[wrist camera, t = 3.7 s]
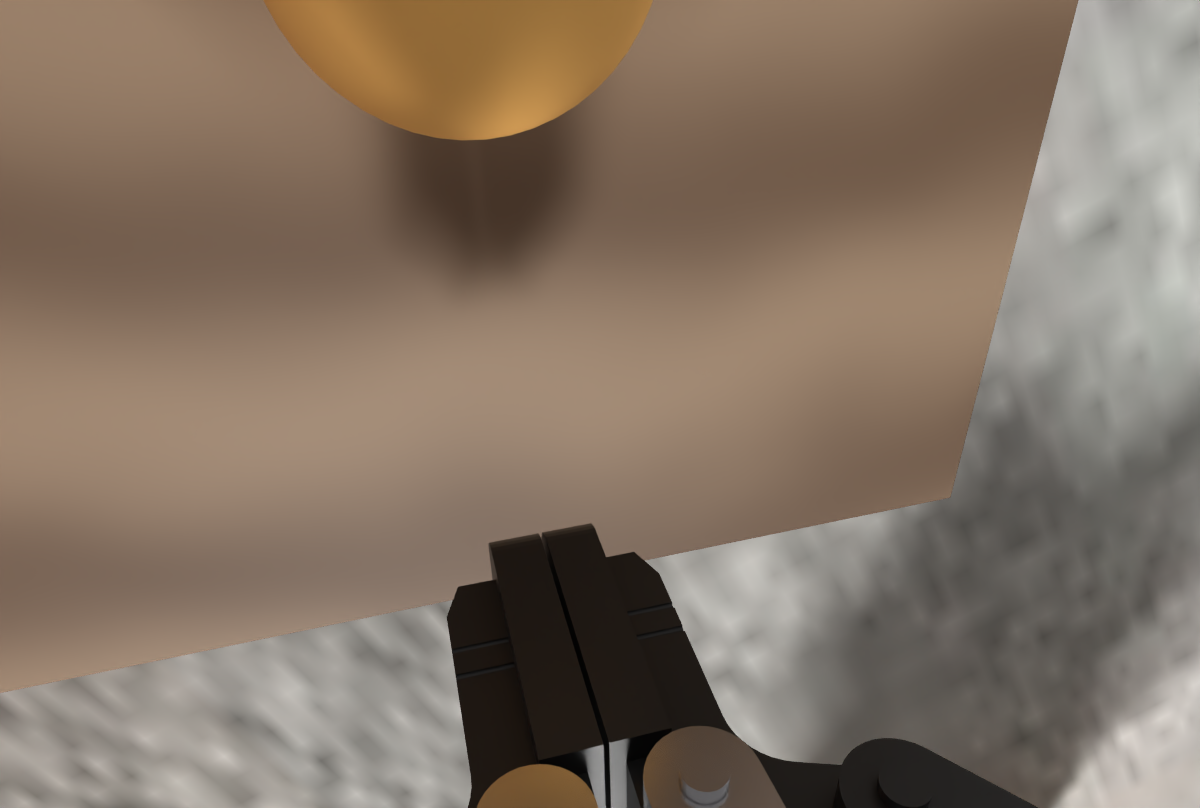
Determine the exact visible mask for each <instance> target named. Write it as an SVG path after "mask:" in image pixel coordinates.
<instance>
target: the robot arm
mask: <svg viewBox="0 0 1200 808" xmlns="http://www.w3.org/2000/svg"><path fill="white" fill-rule="evenodd" d="M489 555H490V563H491V571H492V580H490V581H484V582H479V583H474V584H469V585H464V586H459V587H458V588H457V591H456V593H455V596H454V599H453V602H452V605H451V607H450V610H449V613H448V616H447V621H448V628H449V634H450V641H451V648H452V654H453V661H454V667H455V674H456V680H457V687H458V694H459V700H460V707H461V713H462V720H463V727H464V733H465V740H466V746H467V753H468V759H469V766H470V773H471V783H472V789H471V798H470V802H469V805H468V808H1038V807H1036V806H1034V805H1032V804H1030V803H1028V802H1026V801H1024V800H1022V799H1021V798H1019V797H1017V796H1015V795H1013V794H1011V793H1009V792H1007V791H1005V790H1004V789H1002V788H1000V787H998V786H996V785H994V784H992V783H990V782H988V781H987V780H985V779H983V778H981V777H979V776H977V775H975V774H973V773H971V772H970V771H968V770H966V769H964V768H962V767H960V766H958V765H956V764H954V763H953V762H951V761H949V760H947V759H945V758H943V757H941V756H939V755H937V754H935V753H934V752H932V751H930V750H928V749H926V748H924V747H922V746H919V745H917V744H915V743H912V742H908V741H905V740H900V739H891V738H882V739H875V740H871V741H868V742H865V743H863V744H861V745H859V746H857V747H856V748H855V749H853V750H852V751H851V752H850V753H849V754H848V756H847V757H846V758H845V760H844V762H843V764H842V765H831V764H817V763H803V762H792V761H784V760H780V759H776V758H773V757H770V756H767V755H765V754H762V753H760V752H758V751H757V750H755V749H753V748H751V747H750V746H748V745H747V744H746V743H745V742H743V741H742V740H741V739H740V738H739V737H738V736H737V735H736V734H735V733H734V732H733V731H732V730H731V728H730V727H729V726H728V724H727V723H726V721H725V719H724V717H723V715H722V713H721V711H720V709H719V706H718V704H717V702H716V700H715V698H714V695H713V693H712V691H711V689H710V686H709V684H708V682H707V680H706V677H705V675H704V673H703V671H702V668H701V666H700V664H699V662H698V659H697V657H696V655H695V653H694V651H693V648H692V646H691V644H690V642H689V639H688V637H687V635H686V633H685V631H683V628H682V624H681V621H680V619H679V617H678V615H677V613H676V610H675V608H673V606H672V601H671V599H670V597H669V595H668V592H667V590H666V588H665V586H664V583H663V581H662V579H661V577H660V574H659V573H658V572H657V571H655V570H654V569H653V568H652V567H651V566H650V565H649V564H648V563H646V562H645V561H644V560H643V559H642V558H641V557H640V556H638V555H637V554H636V553H635V552H630V553H625V554H620V555H615V556H610V557H606V555H605V553H604V550H603V548H602V545H601V542H600V540H599V537H598V535H597V532H596V530H595V527H594V526H593V524H592V523H589V524H584V525H578V526H573V527H568V528H562V529H557V530H552V531H547V532H542V536H541V537H540V535H539V534H538V533H537V534H532V535H527V536H521V537H516V538H511V539H505V540H500V541H495V542H490V543H489Z"/></svg>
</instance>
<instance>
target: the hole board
mask: <svg viewBox="0 0 1200 808" xmlns="http://www.w3.org/2000/svg"><path fill="white" fill-rule="evenodd" d="M1077 4H1078V0H653V2H652V5H651V7H650V10H649V12H648V14H647V17H646V19H645V21H644V24H643V26H642V28H641V30H640V32H639V34H638V35H637V37H636V39H635V40H634V42H633V44H632V46H631V47H630V49H629V51H628V52H627V54H626V55H625V56H624V58H623V59H622V60H621V62H620V63H619V64H618V66H617V67H616V68H615V70H614V71H613V72H612V73H611V74H610V75H609V77H608V78H607V79H606V80H605V81H604V82H603V83H602V84H601V85H600V86H599V87H598V88H597V89H596V90H595V91H594V92H592V93H591V94H590V95H589V96H588V97H586V98H585V99H584V100H583V101H581V102H580V103H579V104H578V105H576V106H575V107H573V108H572V109H570V110H568V111H567V112H565V113H564V114H562V115H560V116H559V117H557V118H555V119H553V120H551V121H548V122H546V123H544V124H542V125H540V126H538V127H535V128H533V129H530V130H527V131H523V132H520V133H517V134H514V135H510V136H505V137H499V138H493V139H487V140H452V139H442V138H435V137H430V136H426V135H422V134H417V133H413V132H410V131H407V130H405V129H402V128H399V127H396V126H394V125H391V124H388V123H386V122H384V121H382V120H380V119H378V118H376V117H375V116H373V115H371V114H369V113H367V112H365V111H363V110H362V109H360V108H359V107H357V106H356V105H354V104H353V103H351V102H350V101H348V100H347V99H346V98H344V97H343V96H341V95H340V94H338V93H337V92H336V91H335V90H333V89H332V88H331V87H330V86H329V85H328V84H327V83H325V82H324V81H323V80H322V79H321V78H320V77H319V76H317V75H316V74H315V73H314V71H313V70H312V69H311V68H310V67H309V66H308V65H307V64H306V63H305V62H304V60H303V59H302V58H301V57H300V56H299V55H298V54H297V53H296V51H295V50H294V49H293V47H292V46H291V44H290V43H289V42H288V40H287V39H286V38H285V36H284V35H283V33H282V32H281V31H280V29H279V28H278V26H277V24H276V22H275V21H274V19H273V17H272V15H271V13H270V12H269V10H268V8H267V6H266V4H265V3H264V1H263V0H0V693H2V692H7V691H12V690H17V689H22V688H27V687H31V686H36V685H41V684H46V683H51V682H56V681H61V680H65V679H70V678H75V677H80V676H85V675H90V674H95V673H99V672H104V671H109V670H114V669H119V668H124V667H129V666H134V665H138V664H143V663H148V662H153V661H158V660H163V659H168V658H172V657H177V656H182V655H187V654H192V653H197V652H202V651H206V650H211V649H216V648H221V647H226V646H231V645H236V644H240V643H245V642H250V641H255V640H260V639H265V638H270V637H275V636H279V635H284V634H289V633H294V632H299V631H304V630H309V629H313V628H318V627H323V626H328V625H333V624H338V623H343V622H347V621H352V620H357V619H362V618H367V617H372V616H377V615H381V614H386V613H391V612H396V611H401V610H406V609H411V608H415V607H420V606H425V605H430V604H435V603H440V602H445V601H450V600H453V599H454V596H455V593H456V591H457V588H458V587H459V586H464V585H469V584H474V583H479V582H484V581H490V580H492V571H491V563H490V555H489V543H490V542H495V541H500V540H505V539H511V538H516V537H521V536H527V535H532V534H537V533H538V534H539V535H540V537H541V536H542V532H547V531H552V530H557V529H562V528H568V527H573V526H578V525H584V524H589V523H592V524H593V526H594V527H595V530H596V532H597V535H598V537H599V540H600V542H601V545H602V548H603V550H604V553H605V555H606V557H610V556H615V555H620V554H625V553H630V552H635V553H636V554H637V555H638V556H640V557H641V558H642V559H643V560H649V559H654V558H659V557H663V556H668V555H673V554H678V553H683V552H688V551H693V550H697V549H702V548H707V547H712V546H717V545H722V544H727V543H731V542H736V541H741V540H746V539H751V538H756V537H761V536H766V535H770V534H775V533H780V532H785V531H790V530H795V529H800V528H804V527H809V526H814V525H819V524H824V523H829V522H834V521H838V520H843V519H848V518H853V517H858V516H863V515H868V514H872V513H877V512H882V511H887V510H892V509H897V508H902V507H907V506H911V505H916V504H921V503H926V502H931V501H936V500H941V499H945V498H950V497H951V493H952V489H953V485H954V481H955V477H956V473H957V469H958V465H959V462H960V458H961V454H962V450H963V446H964V442H965V438H966V434H967V431H968V427H969V423H970V419H971V415H972V411H973V407H974V403H975V400H976V396H977V392H978V388H979V384H980V380H981V376H982V372H983V368H984V365H985V361H986V357H987V353H988V349H989V345H990V341H991V337H992V334H993V330H994V326H995V322H996V318H997V314H998V310H999V306H1000V302H1001V299H1002V295H1003V291H1004V287H1005V283H1006V279H1007V275H1008V271H1009V268H1010V264H1011V260H1012V256H1013V252H1014V248H1015V244H1016V240H1017V237H1018V233H1019V229H1020V225H1021V221H1022V217H1023V213H1024V209H1025V205H1026V202H1027V198H1028V194H1029V190H1030V186H1031V182H1032V178H1033V174H1034V171H1035V167H1036V163H1037V159H1038V155H1039V151H1040V147H1041V143H1042V140H1043V136H1044V132H1045V128H1046V124H1047V120H1048V116H1049V112H1050V108H1051V105H1052V101H1053V97H1054V93H1055V89H1056V85H1057V81H1058V77H1059V74H1060V70H1061V66H1062V62H1063V58H1064V54H1065V50H1066V46H1067V43H1068V39H1069V35H1070V31H1071V27H1072V23H1073V19H1074V15H1075V11H1076V8H1077Z"/></svg>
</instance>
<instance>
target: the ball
mask: <svg viewBox="0 0 1200 808" xmlns="http://www.w3.org/2000/svg"><path fill="white" fill-rule="evenodd" d="M263 1H264V3H265V4H266V6H267V8H268V10H269V12H270V13H271V15H272V17H273V19H274V21H275V22H276V24H277V26H278V28H279V29H280V31H281V32H282V33H283V35H284V36H285V38H286V39H287V40H288V42H289V43H290V44H291V46H292V47H293V49H294V50H295V51H296V53H297V54H298V55H299V56H300V57H301V58H302V59H303V60H304V62H305V63H306V64H307V65H308V66H309V67H310V68H311V69H312V70H313V71H314V73H315V74H316V75H317V76H319V77H320V78H321V79H322V80H323V81H324V82H325V83H327V84H328V85H329V86H330V87H331V88H332V89H333V90H335V91H336V92H337V93H338V94H340V95H341V96H343V97H344V98H346V99H347V100H348V101H350V102H351V103H353V104H354V105H356V106H357V107H359V108H360V109H362V110H363V111H365V112H367V113H369V114H371V115H373V116H375V117H376V118H378V119H380V120H382V121H384V122H386V123H388V124H391V125H394V126H396V127H399V128H402V129H405V130H407V131H410V132H413V133H417V134H422V135H426V136H430V137H435V138H442V139H452V140H487V139H493V138H499V137H505V136H510V135H514V134H517V133H520V132H523V131H527V130H530V129H533V128H535V127H538V126H540V125H542V124H544V123H546V122H548V121H551V120H553V119H555V118H557V117H559V116H560V115H562V114H564V113H565V112H567V111H568V110H570V109H572V108H573V107H575V106H576V105H578V104H579V103H580V102H581V101H583V100H584V99H585V98H586V97H588V96H589V95H590V94H591V93H592V92H594V91H595V90H596V89H597V88H598V87H599V86H600V85H601V84H602V83H603V82H604V81H605V80H606V79H607V78H608V77H609V75H610V74H611V73H612V72H613V71H614V70H615V68H616V67H617V66H618V64H619V63H620V62H621V60H622V59H623V58H624V56H625V55H626V54H627V52H628V51H629V49H630V47H631V46H632V44H633V42H634V40H635V39H636V37H637V35H638V34H639V32H640V30H641V28H642V26H643V24H644V21H645V19H646V17H647V14H648V12H649V10H650V7H651V5H652V2H653V0H263Z"/></svg>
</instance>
